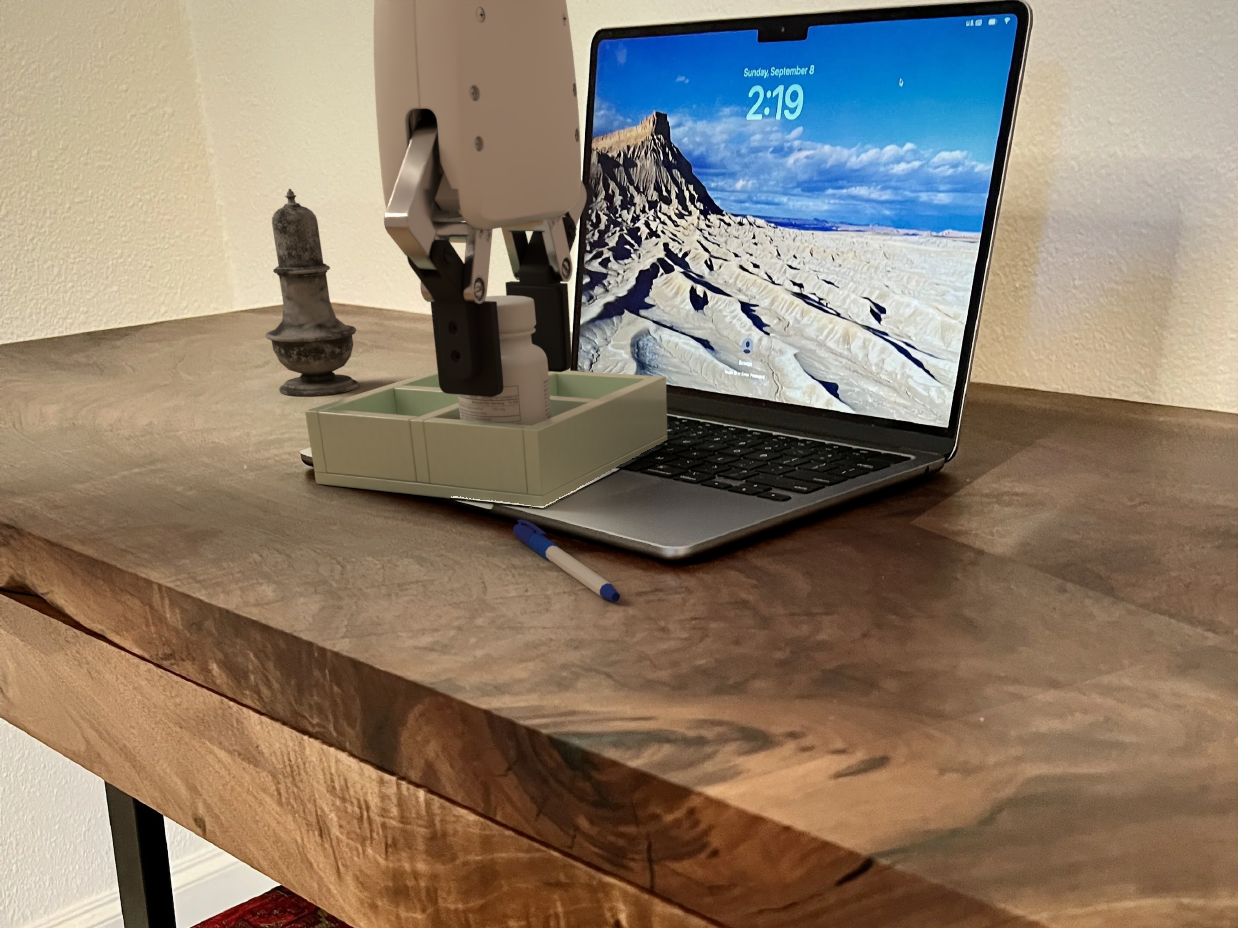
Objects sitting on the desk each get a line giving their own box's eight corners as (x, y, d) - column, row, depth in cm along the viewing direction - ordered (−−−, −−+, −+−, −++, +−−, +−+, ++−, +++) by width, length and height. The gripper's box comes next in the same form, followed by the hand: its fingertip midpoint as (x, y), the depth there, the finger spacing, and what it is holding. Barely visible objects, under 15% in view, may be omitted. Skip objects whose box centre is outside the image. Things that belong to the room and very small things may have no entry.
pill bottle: (514, 453, 69) (502, 290, 65) (572, 466, 66) (563, 298, 62) (447, 470, 66) (430, 301, 62) (504, 484, 64) (490, 309, 60)
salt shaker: (381, 383, 91) (356, 185, 85) (319, 399, 87) (288, 192, 81) (319, 377, 94) (290, 185, 88) (256, 392, 90) (221, 191, 83)
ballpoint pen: (507, 539, 59) (505, 516, 58) (525, 536, 59) (524, 513, 59) (609, 608, 51) (608, 582, 50) (630, 603, 51) (629, 578, 51)
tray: (315, 484, 68) (304, 410, 66) (462, 428, 78) (455, 363, 76) (543, 509, 63) (537, 430, 61) (668, 445, 73) (666, 376, 71)
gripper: (505, -58, 63) (532, 348, 72) (261, -90, 50) (333, 412, 59) (647, -70, 60) (657, 355, 69) (428, -107, 47) (476, 424, 56)
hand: (507, 377), depth 64 cm, fingers open, 5 cm apart
